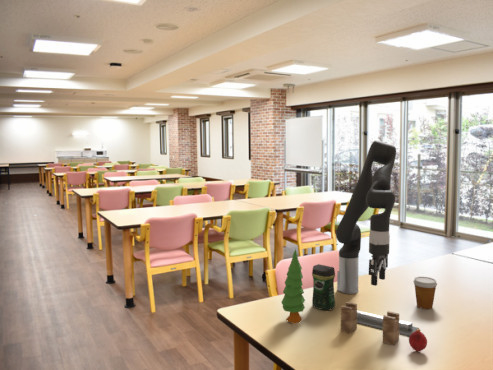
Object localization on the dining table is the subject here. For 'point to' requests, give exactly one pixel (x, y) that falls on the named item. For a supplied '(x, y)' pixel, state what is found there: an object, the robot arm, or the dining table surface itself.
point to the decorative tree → (293, 291)
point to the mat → (382, 327)
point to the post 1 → (349, 317)
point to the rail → (379, 320)
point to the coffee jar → (323, 287)
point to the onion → (418, 340)
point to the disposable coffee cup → (425, 291)
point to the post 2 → (391, 328)
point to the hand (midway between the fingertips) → (378, 282)
